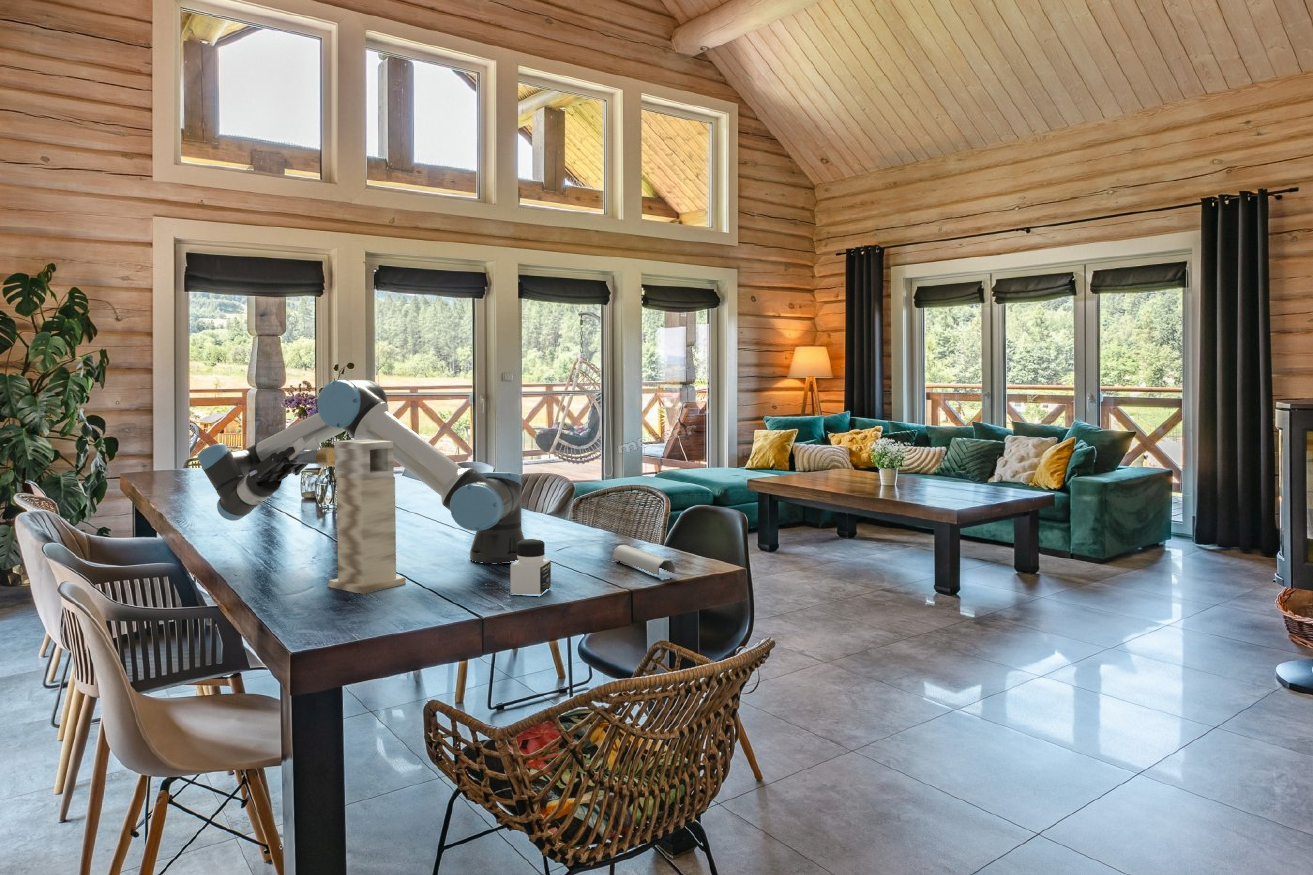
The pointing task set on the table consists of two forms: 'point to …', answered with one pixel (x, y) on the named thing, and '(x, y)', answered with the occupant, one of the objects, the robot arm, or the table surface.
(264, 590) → the table surface
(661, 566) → the tube
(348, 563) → the bore stand
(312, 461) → the plug rod
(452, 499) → the robot arm
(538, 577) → the medicine bottle
